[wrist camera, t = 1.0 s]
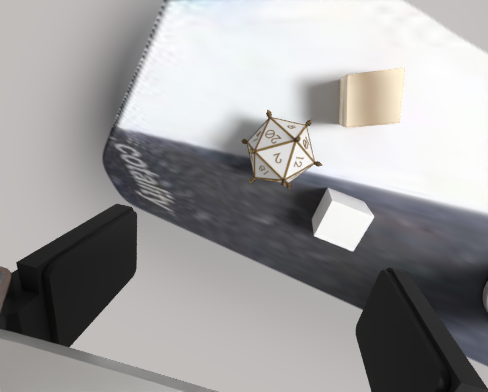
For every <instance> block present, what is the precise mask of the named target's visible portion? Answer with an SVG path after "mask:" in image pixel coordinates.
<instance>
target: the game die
mask: <svg viewBox="0 0 488 392" xmlns="http://www.w3.org/2000/svg"><path fill="white" fill-rule="evenodd" d="M266 114H267V116H268V120H267V121H266V122H265V123H264V124H263V125H262V126H261V127H260V128H259V129H258V131H257V132H256V133H255V134H254V135H253V136H252V137H251V138H250V139H249V140H248V141H247V140H245V139H243V140H241V141H242V143H243V144H244V143H245V144H247V146H248V151H249V155H250V160H251V165H252V170H253V175H254V177H252V178H251V179H250V182H249V183H251V182H254V181H255V179H256V178H257V179H263V180H269V181H275V182H281V183H282V185H283V186H284V187H285V186H286V184H287V187H288V188H289V189H290V188H291V186H292V185H291V184H290V182H291V181H293V180H294V179H295V178H297V177H298V176H299V175H300V174H302V173H303V172H304V171H306V170H307V169H308V168H310V167H311V166H312V165H316V166H322V164H321V163H320V162H318V161H317V162H315V160H314V156H313V151H312V147H311V142H310V138H309V134H308V129H307V126H310V124H311V122H312V120H309V121H307V122H306V124H305V125H304V124H299V123H295V122H290V121H286V120H281V119H277V118H273V117H271V115H272V114H271V112H270V111H269V110H267V113H266Z"/></svg>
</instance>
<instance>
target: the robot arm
mask: <svg viewBox="0 0 488 392" xmlns="http://www.w3.org/2000/svg"><path fill="white" fill-rule="evenodd" d="M136 261H137V214H136V212H134V210H133V208H132V207H129V206H125V205H120V204H115V205H114V206H112V207H110V208H108V209H107V210H105V211H103V212H102V213H100V214H98V215H96V216H95V217H93V218H91V219H90V220H88V221H86V222H85V223H83V224H81V225H79V226H78V227H76V228H74V229H73V230H71V231H69V232H67V233H66V234H64V235H62V236H61V237H59V238H57V239H56V240H54V241H52V242H50V243H49V244H47V245H45V246H44V247H42V248H40V249H38V250H37V251H35V252H33V253H32V254H30V255H28V256H27V257H25V258H23V259H21V260H20V261H18V262H17V268H18V269H17V270H16V271H14V272H13V273H11V272H10V271H9V270H8V269H7V268H4V267H0V392H217V391H214V390H210V389H207V388H204V387H201V386H197V385H194V384H191V383H187V382H184V381H181V380H177V379H174V378H171V377H167V376H164V375H161V374H157V373H154V372H151V371H147V370H144V369H140V368H137V367H133V366H130V365H127V364H124V363H120V362H116V361H113V360H110V359H107V358H103V357H99V356H96V355H93V354H89V353H86V352H83V351H79V350H76V349H72V348H69V347H70V346H71V345H72V344H73V343H74V341H75V340H76V339H77V338H78V337H79V336H80V335H81V334H82V333H83V332H84V330H85V329H86V328H87V327H88V326H89V325H90V324H91V322H93V320H94V319H95V318H96V317H97V316H98V315H99V314H100V313H101V312H102V310H103V309H104V308H105V307H106V306H107V305H108V304H109V303H110V302H111V300H112V299H113V298H114V297H115V296H116V295H117V294H118V293H119V292H120V291H121V289H122V288H123V287H124V286H125V285H126V284H127V283H128V282H129V280H130V279H131V278H132V277H133V276H134V274H135V272H136ZM482 298H483V304H484V307H485V309H486V311H487V312H488V281H487V282H486V285H485V287H484V290H483V297H482ZM356 337H357V341H358V344H359V348H360V352H361V356H362V359H363V363H364V366H365V370H366V374H367V377H368V381H369V384H370V388H371V392H488V388H487V387H486V385H485V384H484V383H483V381H482V380H481V378H480V377H479V375H478V374H477V372H476V371H475V370H474V368H473V366H472V365H471V364H470V362H469V361H468V359H467V358H466V356H465V355H464V353H463V352H462V350H461V349H460V347H459V346H458V345H457V343H456V342H455V340H454V339H453V337H452V336H451V334H450V333H449V331H448V330H447V328H446V327H445V326H444V324H443V323H442V321H441V320H440V318H439V317H438V315H437V314H436V312H435V311H434V309H433V308H432V307H431V305H430V304H429V302H428V301H427V299H426V298H425V296H424V295H423V293H422V292H421V290H420V289H419V288H418V286H417V285H416V283H415V282H414V280H413V279H412V277H411V276H410V274H409V273H408V272H406V271H402V270H398V269H394V268H387V269H386V271H384V270H382V271H381V272H380V274H379V276H378V278H377V280H376V283H375V285H374V287H373V289H372V292H371V294H370V296H369V298H368V300H367V303H366V305H365V307H364V309H363V312H362V314H361V316H360V318H359V321H358V323H357V326H356Z"/></svg>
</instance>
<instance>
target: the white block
mask: <svg viewBox="0 0 488 392" xmlns="http://www.w3.org/2000/svg"><path fill="white" fill-rule="evenodd" d="M373 218H374V215H373V214H372V213H371V211H370V210H369V208H368V207H367V205H366V204H365V203H364V201H361V200H359V199H356V198H353V197H351V196H348V195H346V194H343V193H340V192H338V191H335V190H333V189H330V188H327V190H326V192H325V194H324V196H323V198H322V200H321V202H320V204H319V206H318V208H317V210H316V212H315V214H314V216H313V218H312V226H313V233H314V236H315V237H318V238H320V239H323V240H325V241H328V242H330V243H333V244H335V245H338V246H340V247H343V248H345V249H348V250H350V251H354V249H355V248H356V246H357V244H358V243H359V241H360V240H361V238H362V236H363V235H364V233H365V231H366V230H367V228H368V226H369V225H370V223H371V221H372V220H373Z"/></svg>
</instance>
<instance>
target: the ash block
mask: <svg viewBox="0 0 488 392" xmlns="http://www.w3.org/2000/svg"><path fill="white" fill-rule="evenodd" d="M404 72H405V67H404V68H396V69H389V70H381V71H373V72H365V73H358V74H350V75H346V76H345V77H343V78H341V79H340V108H339V124H340V125H342V126H344V127H346V128H349V127H361V126H372V125H383V124H395V123H400V119H401V107H402V96H403V84H404Z"/></svg>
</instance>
